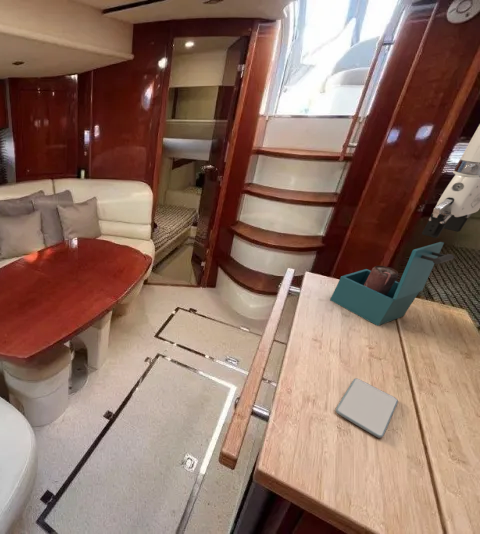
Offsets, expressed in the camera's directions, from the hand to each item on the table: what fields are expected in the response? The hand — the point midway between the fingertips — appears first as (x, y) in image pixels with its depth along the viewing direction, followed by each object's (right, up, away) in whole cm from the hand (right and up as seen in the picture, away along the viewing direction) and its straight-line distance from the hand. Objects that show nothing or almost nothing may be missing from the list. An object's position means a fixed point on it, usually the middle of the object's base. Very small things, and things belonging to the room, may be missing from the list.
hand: (440, 232), depth 83 cm
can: (-3, -23, +18) cm, 29 cm away
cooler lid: (-2, -10, +5) cm, 12 cm away
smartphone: (-32, -42, -13) cm, 55 cm away
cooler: (-3, -23, +19) cm, 30 cm away
